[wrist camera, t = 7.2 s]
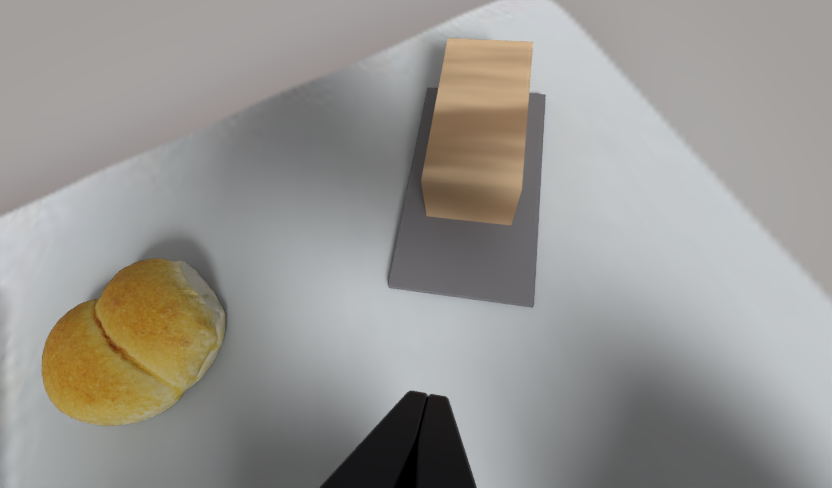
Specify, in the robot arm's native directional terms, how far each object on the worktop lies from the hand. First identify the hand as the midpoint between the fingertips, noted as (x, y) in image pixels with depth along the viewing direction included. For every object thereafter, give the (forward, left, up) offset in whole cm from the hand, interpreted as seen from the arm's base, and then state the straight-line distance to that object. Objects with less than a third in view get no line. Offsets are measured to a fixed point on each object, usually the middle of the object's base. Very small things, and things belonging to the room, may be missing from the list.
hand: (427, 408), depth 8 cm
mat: (+13, -2, -13) cm, 18 cm away
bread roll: (+3, +17, -13) cm, 21 cm away
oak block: (+10, -1, -10) cm, 15 cm away
